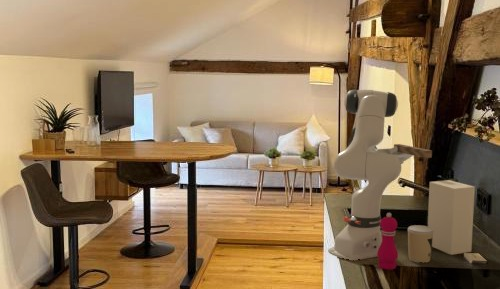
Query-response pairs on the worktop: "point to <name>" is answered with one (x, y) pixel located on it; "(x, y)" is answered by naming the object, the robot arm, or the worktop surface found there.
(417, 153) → the walnut bar
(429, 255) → the coffee cup
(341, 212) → the worktop surface
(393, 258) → the pepper mill
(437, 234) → the cream stand
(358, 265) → the worktop surface
